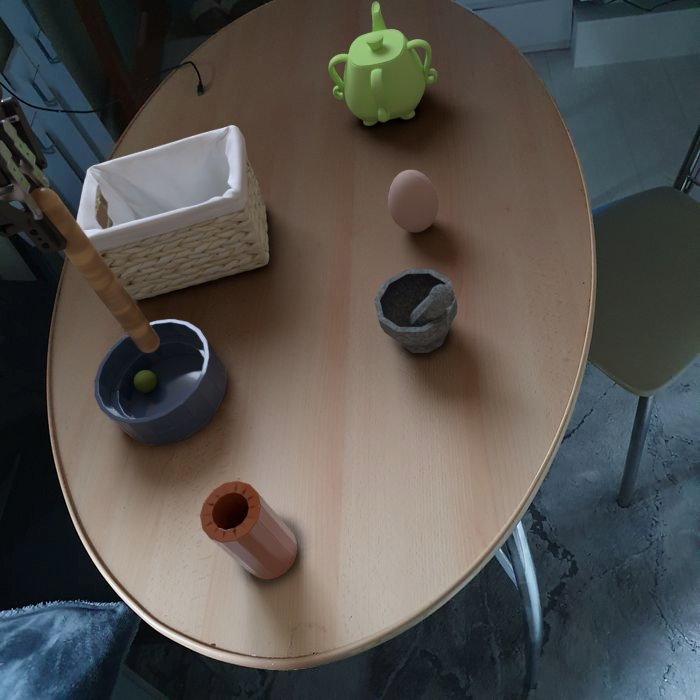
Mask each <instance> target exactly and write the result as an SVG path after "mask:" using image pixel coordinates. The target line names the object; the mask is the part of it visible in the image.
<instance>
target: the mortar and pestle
mask: <svg viewBox="0 0 700 700" xmlns="http://www.w3.org/2000/svg"><path fill="white" fill-rule="evenodd" d="M373 301H374V307H375V311H376V316H377V320H378V324H379V326H380V328H381V330H382V331H383V332H384V333H385V334H386V335H387V336H389V337H391V338H392V339H393V340H395V341H397V342H398V343H400V345H401V347H403V348H405V349H406V350H408V351H409V352H410V353H413V354H429V353H431V352H432V351H434V350H436V349H438V348H439V347H442V346H443V344H444V341H445V339H446V338H447V335H448V332H449V330H450V328H451V326H452V325H453V322H454V320H455V318H456V316H457V314H458V301H457V296H456V293H455V290H454V287H453V284H452V281H451V279H450V278H448V277H446V276H444V275H442V274H440V273H439V272H437V271H435V270H434V269H432V268H417V269H415V268H414V269H413V268H411V269H405V270H403V271H401V272H399V273H398V274H396V275H393V276H392V277H390V278H388V279H386V280H385V281H383V284H382V285H381V287H380V289H379V291H378V293H377V294H376V296H375V298H374V299H373Z"/></svg>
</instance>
